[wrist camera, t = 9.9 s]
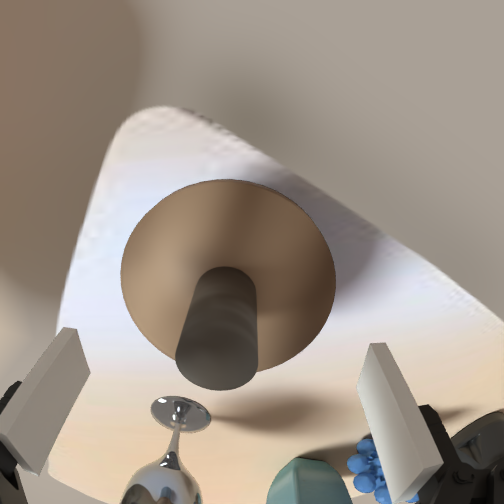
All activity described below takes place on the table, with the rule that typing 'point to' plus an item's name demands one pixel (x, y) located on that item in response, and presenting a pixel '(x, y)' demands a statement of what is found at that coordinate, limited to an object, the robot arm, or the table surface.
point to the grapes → (370, 472)
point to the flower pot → (308, 484)
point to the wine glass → (169, 458)
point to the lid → (227, 280)
